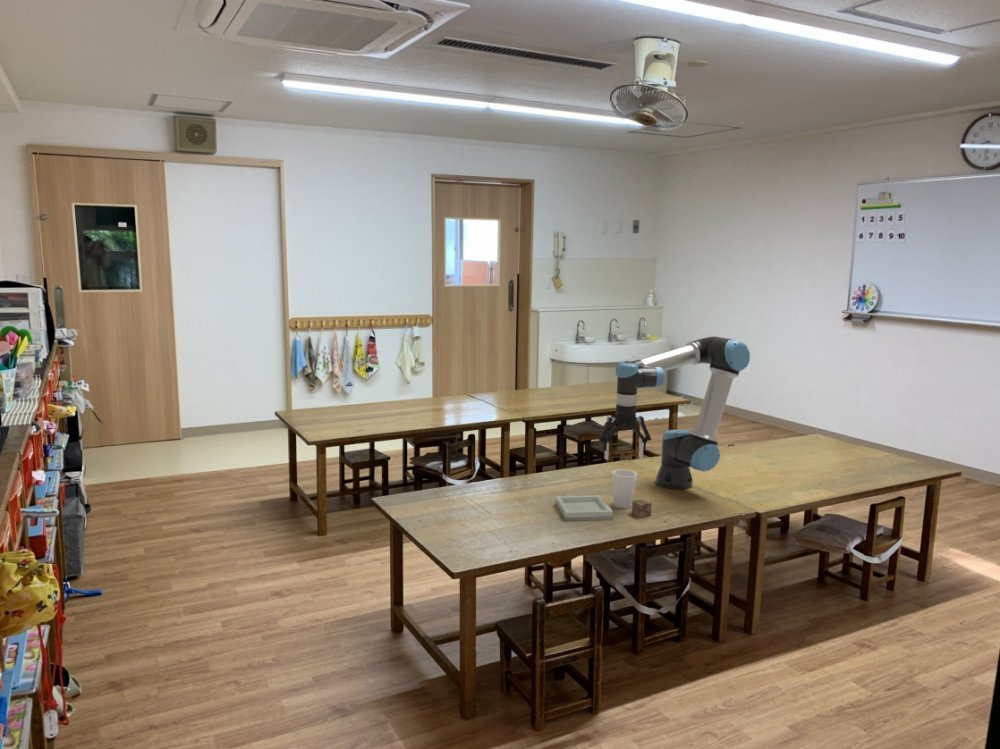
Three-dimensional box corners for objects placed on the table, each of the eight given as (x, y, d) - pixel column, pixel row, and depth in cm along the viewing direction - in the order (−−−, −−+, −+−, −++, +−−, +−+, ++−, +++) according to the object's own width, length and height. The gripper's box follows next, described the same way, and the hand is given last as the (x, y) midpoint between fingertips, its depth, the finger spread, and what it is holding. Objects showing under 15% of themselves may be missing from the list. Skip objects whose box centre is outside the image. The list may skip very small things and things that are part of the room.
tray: (599, 502, 289) (599, 495, 288) (612, 519, 272) (613, 511, 271) (555, 503, 286) (555, 496, 286) (565, 520, 269) (566, 512, 269)
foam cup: (634, 502, 290) (636, 470, 288) (636, 510, 281) (638, 477, 279) (609, 500, 291) (611, 468, 289) (611, 508, 282) (612, 476, 280)
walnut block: (642, 511, 281) (643, 499, 280) (650, 515, 276) (651, 503, 275) (631, 513, 278) (632, 500, 277) (640, 517, 274) (641, 505, 273)
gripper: (654, 401, 285) (651, 454, 289) (591, 402, 282) (589, 456, 285) (661, 406, 278) (658, 460, 281) (596, 406, 274) (594, 462, 278)
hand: (623, 458), depth 283 cm, fingers open, 13 cm apart
